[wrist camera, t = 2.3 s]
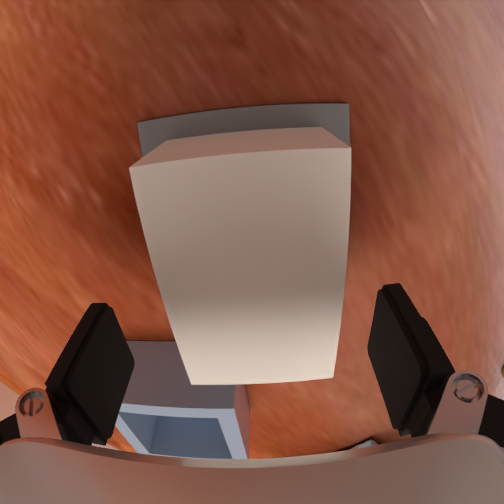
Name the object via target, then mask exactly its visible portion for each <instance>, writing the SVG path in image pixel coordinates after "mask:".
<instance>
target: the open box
mask: <svg viewBox="0 0 504 504" xmlns="http://www.w3.org/2000/svg"><path fill="white" fill-rule="evenodd" d="M126 342H127V344H128V346H129V348H130V351H131V353H132V355H133V357H134V361H135V365H134V369H133V372H132V375H131V378H130V381H129V384H128V387H127V390H126V393H125V396H124V399H123V402H122V405H121V408H120V411H119V414H118V418H117V421H116V424H115V426H116V427H117V429H118V430H119V431H120V432H121V433H122V435H123V436H124V437H125V438H126V439H127V441H128V442H129V443H130V444H131V445H132V446H133V448H134V449H135V450H136V451H137V452H138V453H140V454H148V455H157V456H168V457H180V458H197V459H249V440H250V405H249V399H248V394H247V388H246V384H233V385H191V382H190V379H189V377H188V374H187V371H186V369H185V366H184V363H183V360H182V358H181V355H180V352H179V349H178V346H177V343H176V341H126Z"/></svg>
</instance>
